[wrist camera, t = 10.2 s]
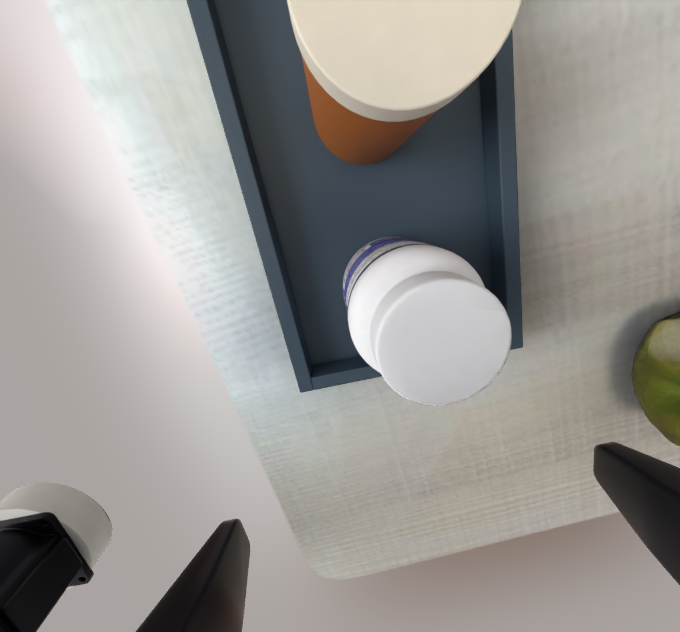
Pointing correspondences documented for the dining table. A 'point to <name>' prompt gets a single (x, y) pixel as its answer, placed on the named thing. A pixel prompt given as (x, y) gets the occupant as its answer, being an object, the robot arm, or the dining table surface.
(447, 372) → the pill bottle
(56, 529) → the robot arm
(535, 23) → the dining table surface
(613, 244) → the dining table surface
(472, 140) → the tray
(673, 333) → the fruit
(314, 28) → the amber bottle middle
